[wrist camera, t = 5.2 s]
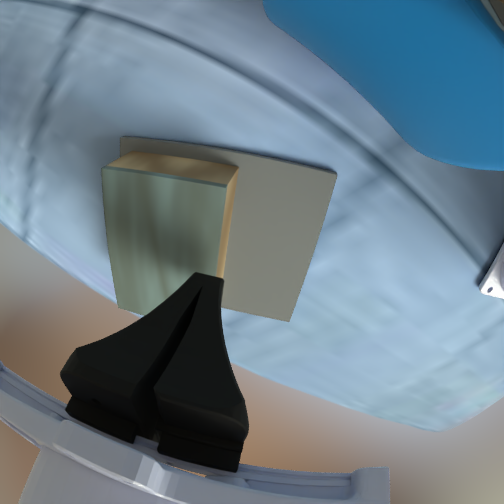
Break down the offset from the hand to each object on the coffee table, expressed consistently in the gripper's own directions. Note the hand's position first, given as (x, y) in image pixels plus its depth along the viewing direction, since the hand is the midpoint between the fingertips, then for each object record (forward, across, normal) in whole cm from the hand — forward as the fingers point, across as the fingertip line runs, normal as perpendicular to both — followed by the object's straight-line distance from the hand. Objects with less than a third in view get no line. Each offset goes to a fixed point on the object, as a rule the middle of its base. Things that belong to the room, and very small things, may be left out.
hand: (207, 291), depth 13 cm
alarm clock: (+5, -6, -15) cm, 17 cm away
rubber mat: (+5, +1, 0) cm, 5 cm away
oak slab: (+3, 0, 0) cm, 3 cm away
